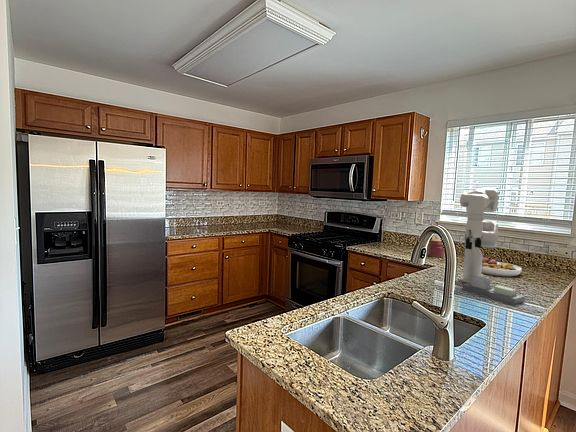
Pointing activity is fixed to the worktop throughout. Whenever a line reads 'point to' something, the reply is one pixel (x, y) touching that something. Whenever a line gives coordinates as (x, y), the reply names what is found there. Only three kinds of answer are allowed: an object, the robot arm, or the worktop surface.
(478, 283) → the medicine box
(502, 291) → the green clip block
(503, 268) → the bowl
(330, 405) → the worktop surface
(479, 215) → the robot arm
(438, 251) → the canister
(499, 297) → the gray rectangular tray
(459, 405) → the worktop surface
